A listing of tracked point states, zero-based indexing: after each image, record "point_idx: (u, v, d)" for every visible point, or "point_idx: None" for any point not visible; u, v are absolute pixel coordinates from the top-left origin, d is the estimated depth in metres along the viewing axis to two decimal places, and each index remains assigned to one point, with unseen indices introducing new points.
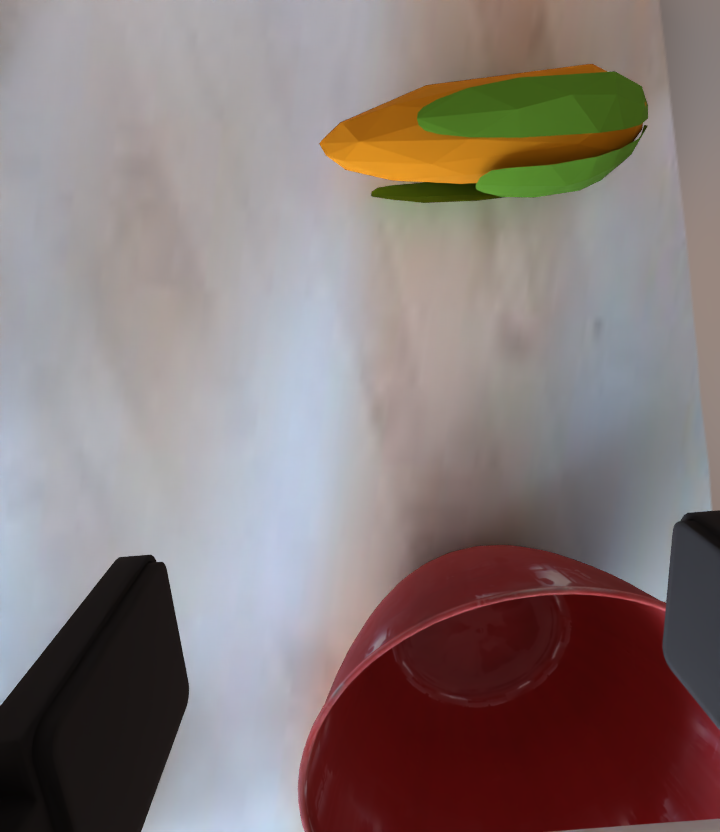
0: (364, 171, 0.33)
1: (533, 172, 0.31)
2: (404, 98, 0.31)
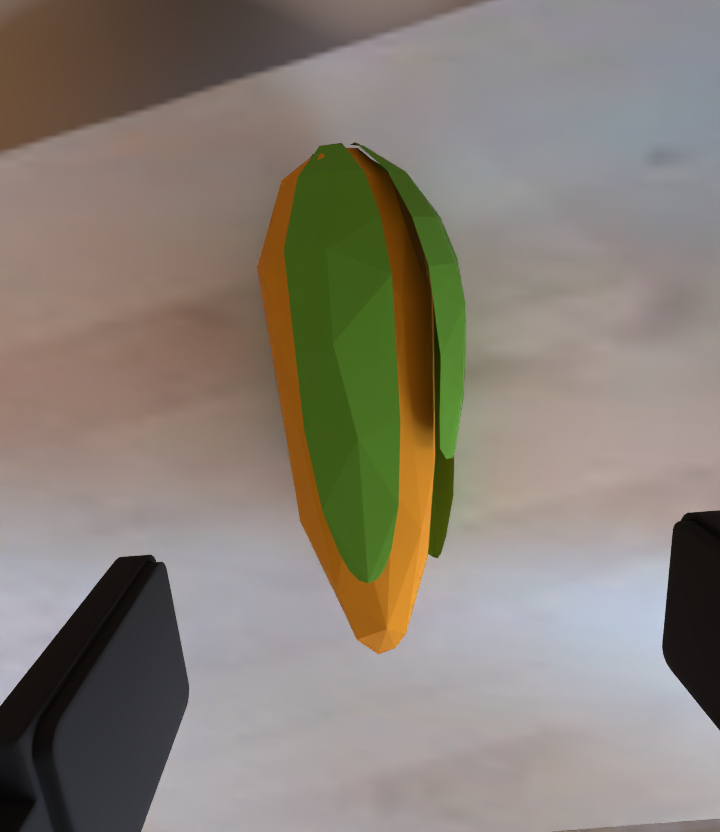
0: (415, 595, 0.22)
1: (448, 379, 0.17)
2: (325, 564, 0.20)
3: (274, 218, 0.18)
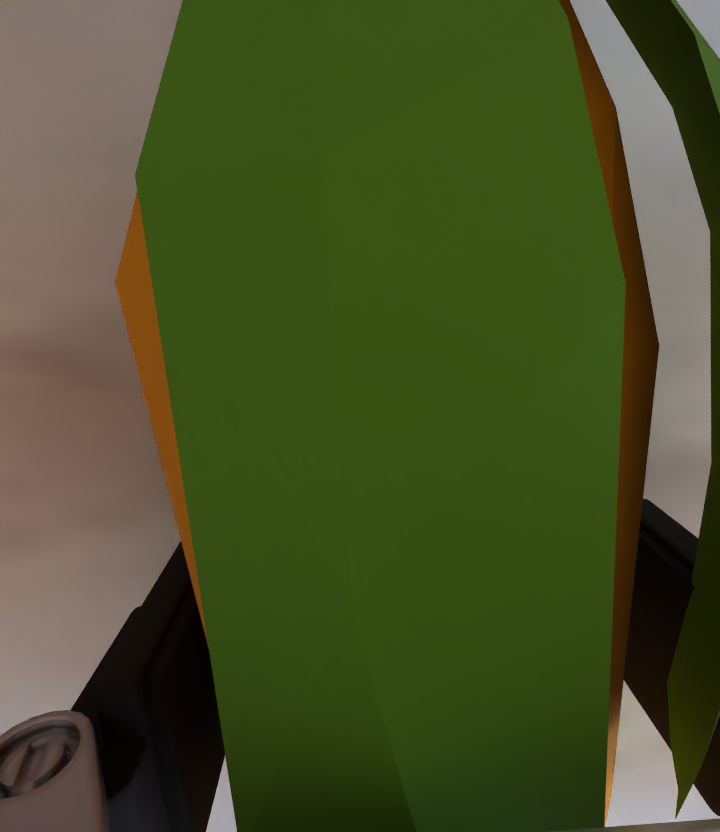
0: None
1: None
2: None
3: None
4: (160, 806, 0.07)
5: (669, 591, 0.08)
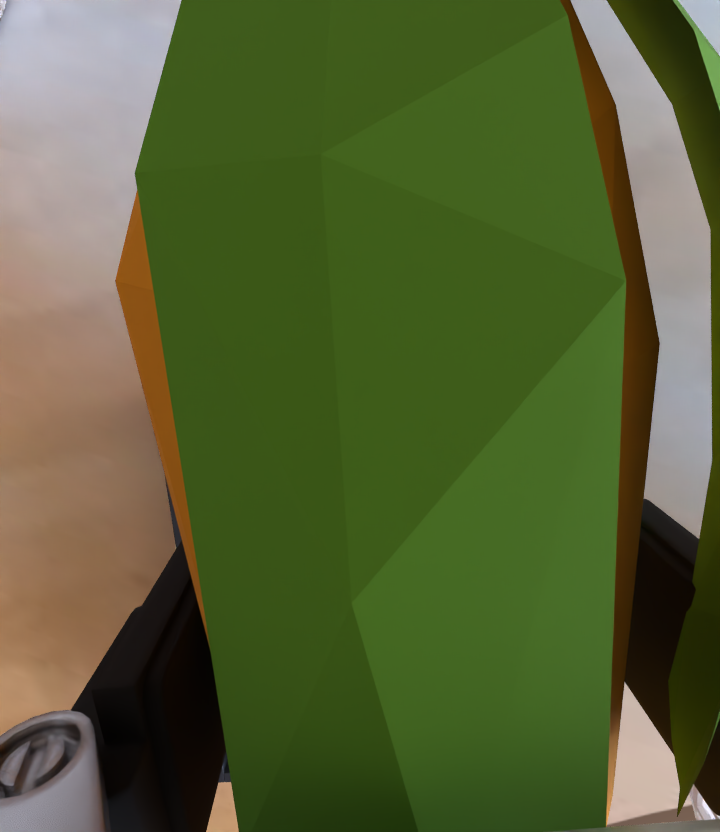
0: None
1: None
2: None
3: None
4: (160, 806, 0.07)
5: (669, 591, 0.08)
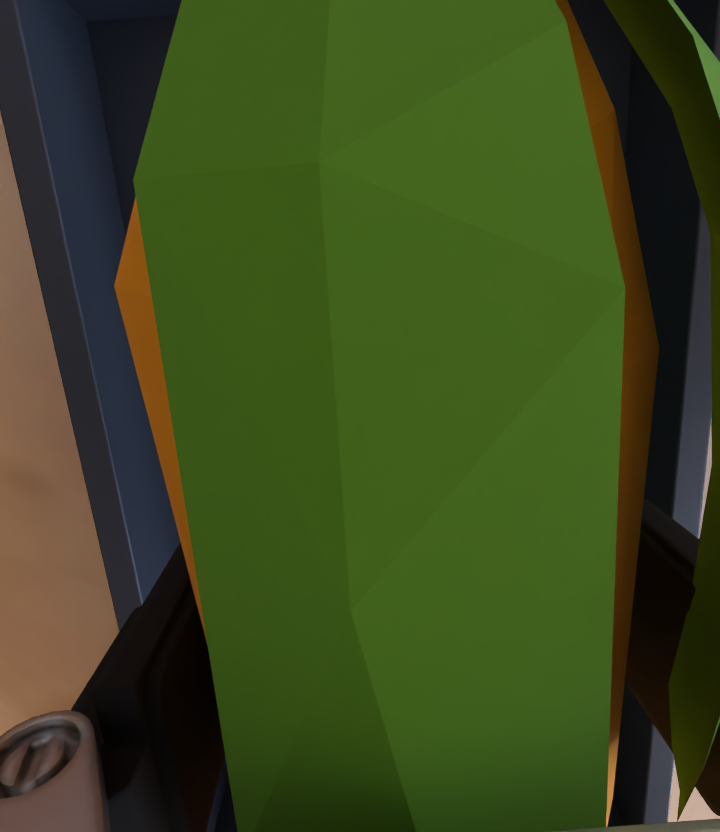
0: None
1: None
2: None
3: None
4: (160, 805, 0.07)
5: (669, 591, 0.08)
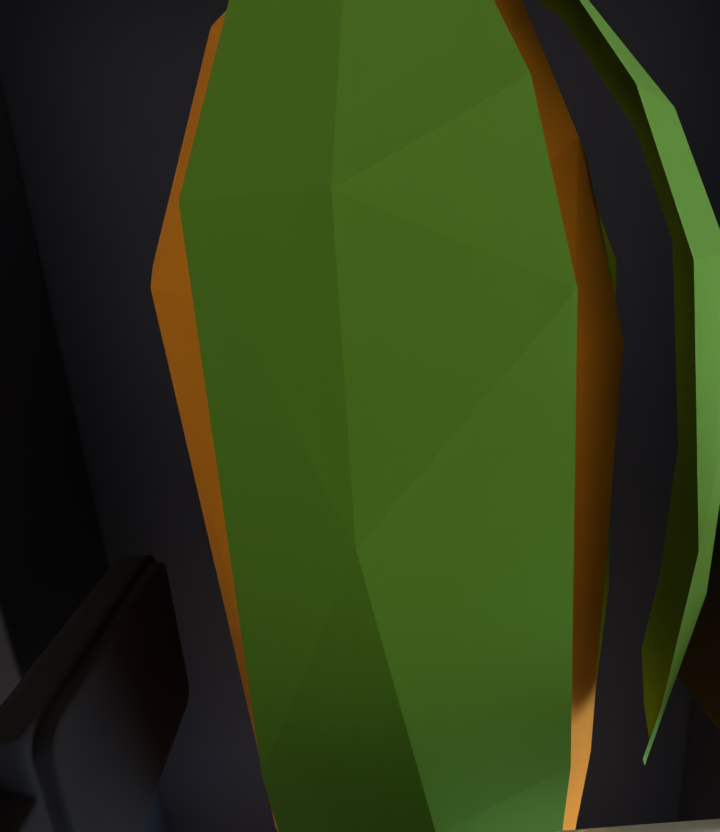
0: None
1: (694, 597, 0.06)
2: None
3: (187, 129, 0.06)
4: None
5: None
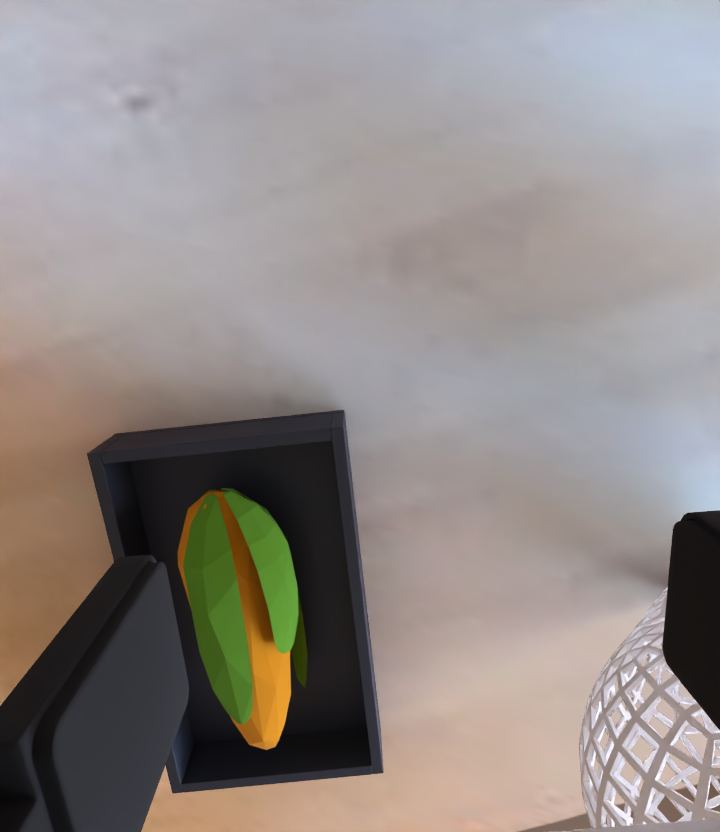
0: (285, 716, 0.38)
1: (277, 619, 0.33)
2: None
3: (184, 531, 0.33)
4: None
5: None
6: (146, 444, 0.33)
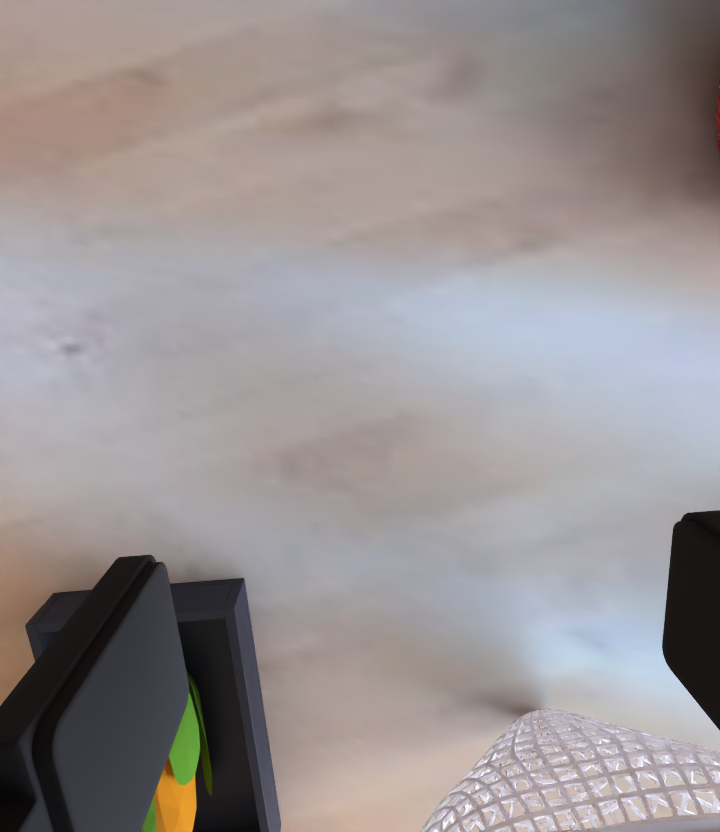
0: (192, 825, 0.45)
1: (177, 761, 0.40)
2: None
3: None
4: None
5: None
6: None
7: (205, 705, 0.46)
